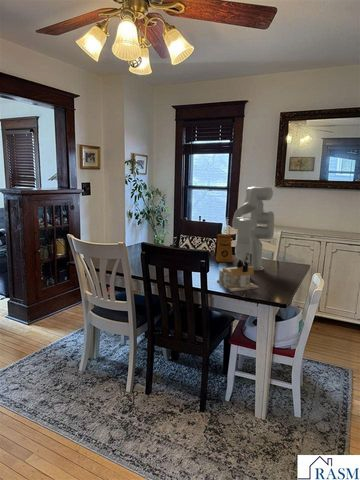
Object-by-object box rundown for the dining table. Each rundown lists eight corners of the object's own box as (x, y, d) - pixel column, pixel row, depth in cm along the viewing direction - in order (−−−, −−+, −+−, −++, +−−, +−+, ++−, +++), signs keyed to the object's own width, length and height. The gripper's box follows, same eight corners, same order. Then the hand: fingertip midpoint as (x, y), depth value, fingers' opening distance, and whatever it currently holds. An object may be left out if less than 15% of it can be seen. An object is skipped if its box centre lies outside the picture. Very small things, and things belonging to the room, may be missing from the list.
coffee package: (232, 263, 254) (233, 235, 250) (215, 262, 255) (216, 234, 251) (231, 260, 263) (232, 233, 259) (216, 259, 265) (216, 232, 261)
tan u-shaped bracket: (222, 270, 204) (222, 263, 203) (242, 268, 208) (243, 262, 208) (232, 276, 192) (232, 269, 191) (253, 274, 197) (253, 267, 196)
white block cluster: (216, 281, 208) (217, 267, 206) (242, 279, 214) (242, 265, 212) (231, 291, 190) (231, 275, 188) (258, 288, 196) (259, 273, 194)
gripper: (230, 238, 198) (229, 267, 202) (245, 243, 182) (244, 275, 186) (241, 237, 201) (240, 266, 204) (257, 242, 185) (255, 273, 188)
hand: (242, 270), depth 195 cm, fingers open, 5 cm apart
